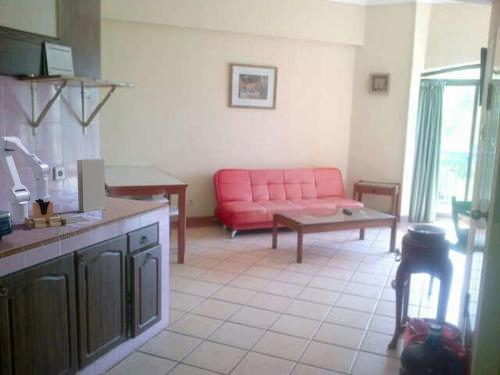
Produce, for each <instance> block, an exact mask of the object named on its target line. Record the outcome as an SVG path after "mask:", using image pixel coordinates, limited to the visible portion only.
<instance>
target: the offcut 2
mask: <svg viewBox="0 0 500 375" xmlns="http://www.w3.org/2000/svg"><path fill="white" fill-rule="evenodd" d="M61 217H62V216H61ZM61 217H59V216H58V217H54V216H53V217H49V226H58V227H60V226H59V225H61Z"/></svg>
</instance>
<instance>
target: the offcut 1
mask: <svg viewBox="0 0 500 375" xmlns="http://www.w3.org/2000/svg"><path fill="white" fill-rule="evenodd" d="M32 219H33V218H32ZM33 220H34V228H40V229H43V228H42V227H46V219H45V218H39V219H33Z"/></svg>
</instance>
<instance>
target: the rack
mask: <svg viewBox="0 0 500 375" xmlns="http://www.w3.org/2000/svg"><path fill="white" fill-rule="evenodd" d="M58 216H59V217H61V225H59V226H49V220H46V227H42V228H34V221H33V218H29V217H28V218H29V219H28V218H27V217H25V218H24V220H25V221H24V224H25V226H27V227H28V228H29V229H30V230H38V229H47V228H48V229H49V228H56V227H65V226H67V224H66V219H64V218H65V217H62V215H60V214H57V213H56V214H55V216H54V215H53V217H58Z"/></svg>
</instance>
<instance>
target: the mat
mask: <svg viewBox="0 0 500 375" xmlns="http://www.w3.org/2000/svg"><path fill="white" fill-rule="evenodd" d="M63 218H64V219H66V225H67V224H75V223H76V224H77V223H83V222H84V223H85V222H90V220H89V219H88V218H86V217H84V216H82V215H77V216H69V217H66V216H65V217H63Z"/></svg>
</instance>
